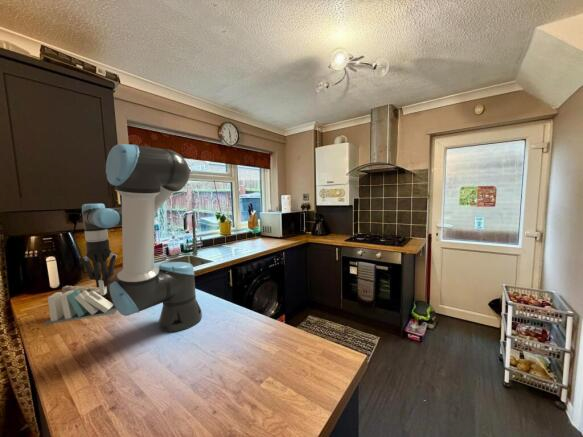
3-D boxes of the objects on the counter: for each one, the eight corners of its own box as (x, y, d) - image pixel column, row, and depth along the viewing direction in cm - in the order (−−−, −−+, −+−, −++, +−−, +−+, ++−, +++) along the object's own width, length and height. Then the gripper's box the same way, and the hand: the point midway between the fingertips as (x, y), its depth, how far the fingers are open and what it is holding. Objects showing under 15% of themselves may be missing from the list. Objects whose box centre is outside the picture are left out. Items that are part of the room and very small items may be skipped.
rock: (41, 292, 110) (78, 281, 124) (45, 312, 110) (82, 298, 124) (76, 291, 102) (111, 279, 116) (80, 311, 103) (115, 297, 117)
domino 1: (64, 314, 100) (61, 291, 100) (57, 320, 96) (53, 296, 95) (58, 315, 100) (55, 292, 99) (51, 321, 95) (47, 297, 94)
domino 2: (77, 312, 102) (73, 290, 101) (71, 318, 97) (66, 294, 96) (72, 313, 101) (67, 291, 100) (65, 319, 97) (60, 295, 95)
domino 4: (113, 304, 106) (93, 290, 103) (108, 309, 101) (87, 295, 98) (110, 307, 105) (89, 294, 103) (105, 313, 101) (83, 299, 98)
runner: (122, 305, 108) (121, 304, 108) (113, 314, 100) (113, 313, 100) (56, 314, 101) (56, 314, 101) (42, 325, 93) (41, 324, 93)
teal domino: (90, 309, 103) (78, 289, 101) (84, 314, 98) (72, 294, 97) (85, 311, 103) (73, 291, 101) (78, 317, 98) (66, 296, 96)
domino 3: (102, 306, 104) (85, 290, 102) (96, 312, 100) (79, 294, 97) (97, 309, 104) (81, 292, 102) (92, 315, 99) (74, 297, 97)
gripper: (119, 237, 105) (124, 288, 108) (83, 239, 101) (90, 292, 104) (111, 240, 98) (117, 295, 100) (73, 243, 94) (80, 299, 97)
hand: (103, 293), depth 102 cm, fingers closed
